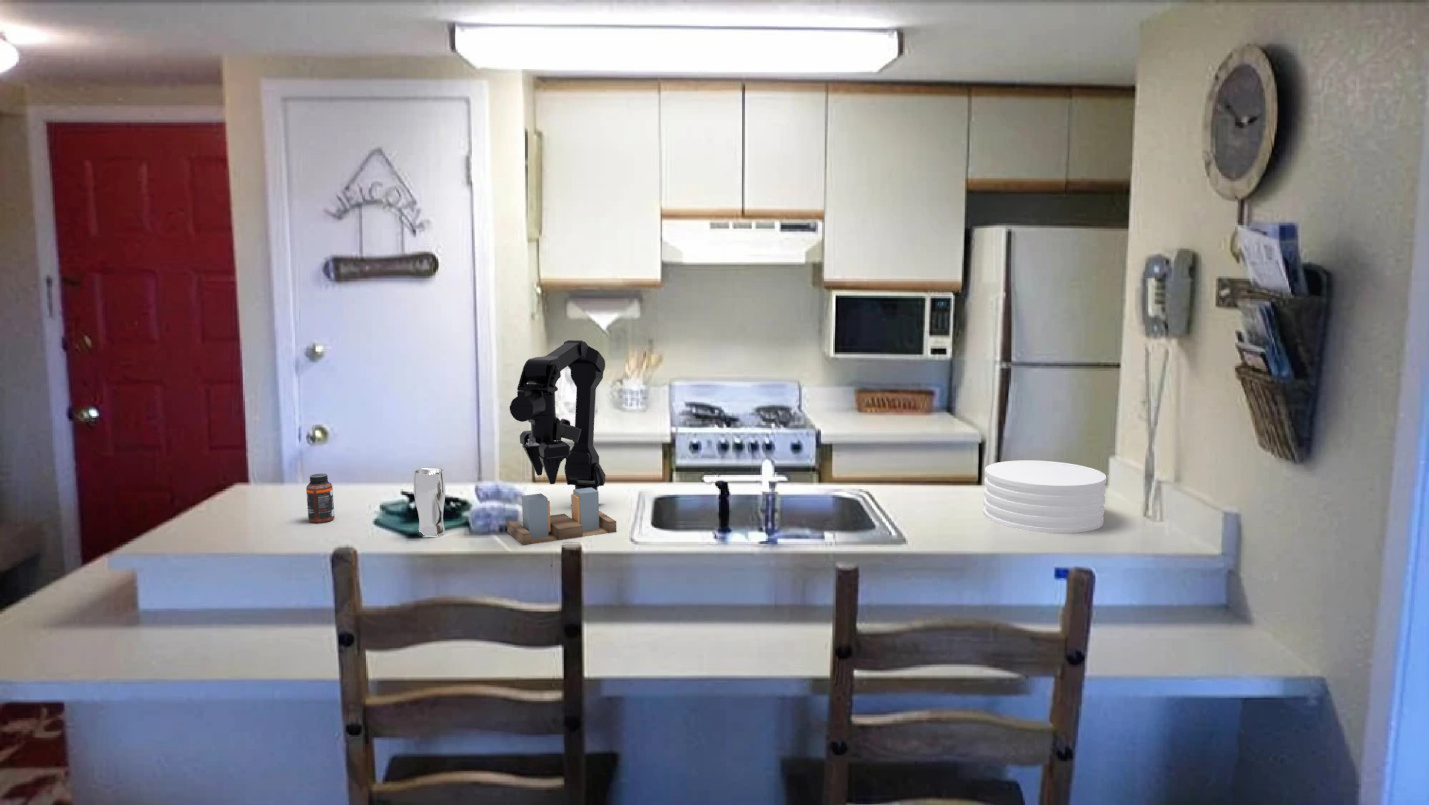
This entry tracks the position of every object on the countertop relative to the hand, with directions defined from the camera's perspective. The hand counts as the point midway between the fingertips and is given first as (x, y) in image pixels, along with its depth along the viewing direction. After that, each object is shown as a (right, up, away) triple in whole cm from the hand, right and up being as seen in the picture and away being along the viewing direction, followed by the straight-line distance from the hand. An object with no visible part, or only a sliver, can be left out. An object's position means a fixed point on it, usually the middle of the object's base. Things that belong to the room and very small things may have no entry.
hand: (545, 479), depth 226 cm
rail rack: (+4, -13, -2) cm, 14 cm away
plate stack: (+120, -11, +13) cm, 121 cm away
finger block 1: (-1, -12, -5) cm, 13 cm away
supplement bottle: (-57, -11, +12) cm, 59 cm away
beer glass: (-26, -13, 0) cm, 29 cm away
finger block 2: (+9, -11, +1) cm, 15 cm away
